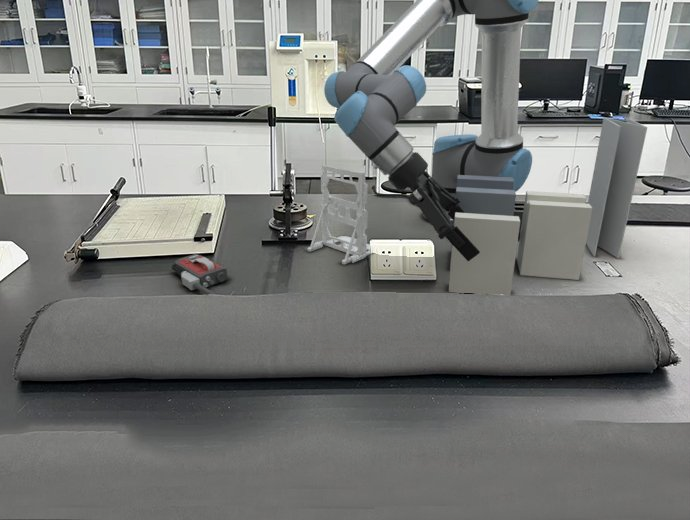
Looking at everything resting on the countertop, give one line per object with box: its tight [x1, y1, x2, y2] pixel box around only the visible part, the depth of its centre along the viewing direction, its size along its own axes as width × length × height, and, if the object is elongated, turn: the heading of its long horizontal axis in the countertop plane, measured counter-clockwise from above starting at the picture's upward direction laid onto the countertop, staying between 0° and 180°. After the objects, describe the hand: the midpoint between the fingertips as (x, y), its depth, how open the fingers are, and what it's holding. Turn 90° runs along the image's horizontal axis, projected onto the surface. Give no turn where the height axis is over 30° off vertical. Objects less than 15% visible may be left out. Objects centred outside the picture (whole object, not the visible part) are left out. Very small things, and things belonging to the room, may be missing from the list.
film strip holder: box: [306, 164, 371, 266], centre depth 125 cm, size 14×14×20 cm
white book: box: [448, 213, 520, 296], centre depth 104 cm, size 3×12×16 cm, turn 78°
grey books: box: [449, 175, 517, 270], centre depth 118 cm, size 10×12×19 cm
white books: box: [516, 190, 592, 281], centre depth 115 cm, size 9×12×16 cm
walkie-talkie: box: [170, 253, 228, 295], centre depth 111 cm, size 9×4×20 cm
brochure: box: [586, 117, 648, 259], centre depth 125 cm, size 14×6×30 cm, turn 168°
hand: (474, 243), depth 104 cm, fingers open, 13 cm apart
